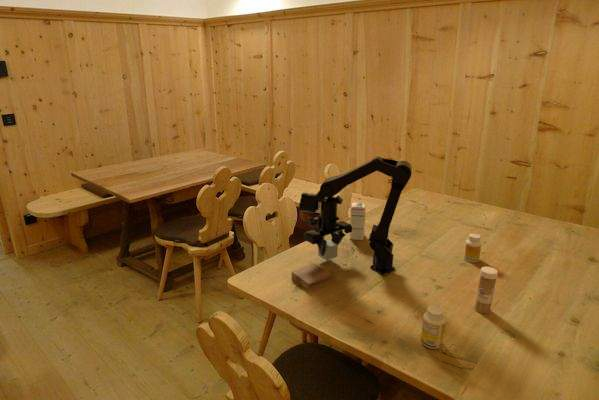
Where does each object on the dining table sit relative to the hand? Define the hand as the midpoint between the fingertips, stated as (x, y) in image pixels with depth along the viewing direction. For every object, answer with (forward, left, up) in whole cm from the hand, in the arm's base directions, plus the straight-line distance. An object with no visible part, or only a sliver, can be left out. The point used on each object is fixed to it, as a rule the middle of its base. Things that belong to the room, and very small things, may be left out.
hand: (327, 253), depth 148 cm
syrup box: (+9, -24, -4) cm, 26 cm away
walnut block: (-7, +13, -4) cm, 15 cm away
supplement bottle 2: (-31, -44, -4) cm, 54 cm away
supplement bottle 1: (-51, +8, -4) cm, 52 cm away
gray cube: (0, 0, -1) cm, 1 cm away
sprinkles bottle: (-51, -17, -3) cm, 54 cm away
